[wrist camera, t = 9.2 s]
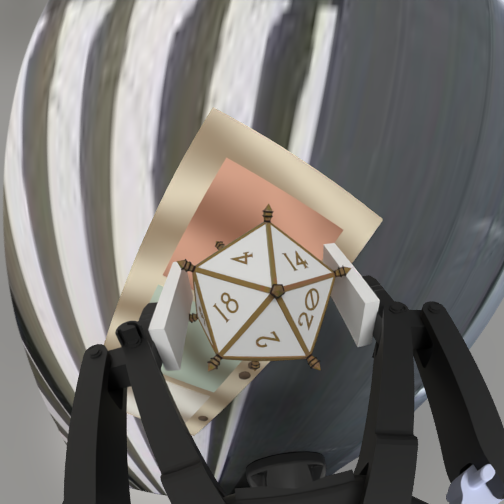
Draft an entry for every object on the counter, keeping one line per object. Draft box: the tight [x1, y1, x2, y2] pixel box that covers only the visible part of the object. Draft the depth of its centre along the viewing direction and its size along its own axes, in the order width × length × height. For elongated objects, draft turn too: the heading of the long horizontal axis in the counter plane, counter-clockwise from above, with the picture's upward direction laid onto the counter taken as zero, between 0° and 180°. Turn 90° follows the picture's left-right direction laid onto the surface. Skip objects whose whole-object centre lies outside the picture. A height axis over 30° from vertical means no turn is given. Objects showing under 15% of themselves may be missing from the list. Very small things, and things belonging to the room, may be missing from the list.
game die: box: [177, 204, 351, 372], centre depth 15 cm, size 9×8×10 cm
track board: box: [104, 108, 383, 436], centre depth 24 cm, size 35×15×1 cm, turn 149°
